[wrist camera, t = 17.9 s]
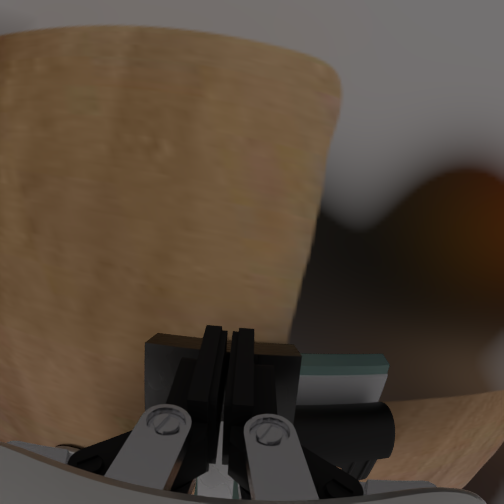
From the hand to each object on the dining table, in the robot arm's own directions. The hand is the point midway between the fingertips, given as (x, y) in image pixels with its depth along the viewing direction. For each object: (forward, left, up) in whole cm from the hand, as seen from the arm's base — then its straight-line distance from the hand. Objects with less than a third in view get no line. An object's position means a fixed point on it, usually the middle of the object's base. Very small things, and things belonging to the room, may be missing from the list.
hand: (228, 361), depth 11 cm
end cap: (-14, -9, -13) cm, 21 cm away
